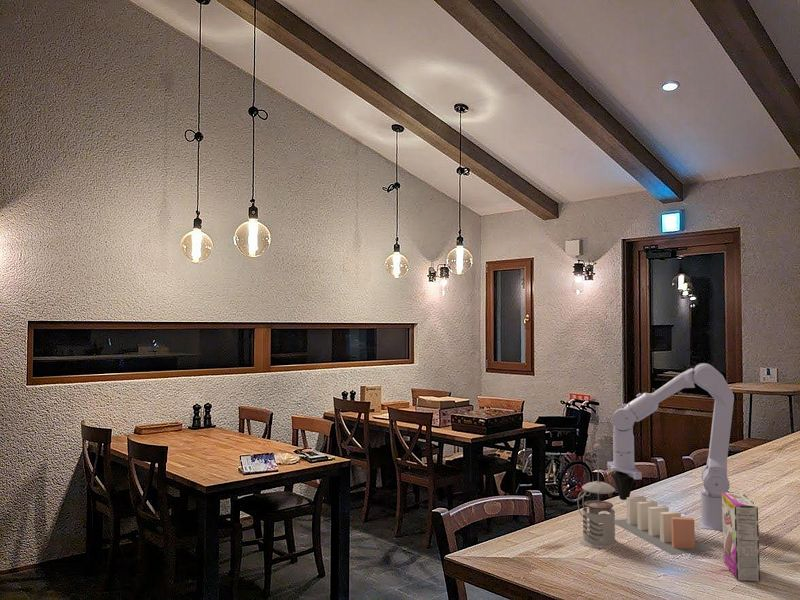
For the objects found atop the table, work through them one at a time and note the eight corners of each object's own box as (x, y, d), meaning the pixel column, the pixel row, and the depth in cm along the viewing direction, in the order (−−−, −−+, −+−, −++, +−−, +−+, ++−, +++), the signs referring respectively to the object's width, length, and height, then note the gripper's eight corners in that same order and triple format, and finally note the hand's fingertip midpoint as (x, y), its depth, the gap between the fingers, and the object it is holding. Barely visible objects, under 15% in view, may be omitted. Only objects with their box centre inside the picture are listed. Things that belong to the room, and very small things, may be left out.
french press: (598, 551, 164) (597, 448, 164) (566, 538, 174) (564, 441, 175) (628, 545, 168) (626, 444, 169) (594, 532, 178) (593, 437, 179)
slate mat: (609, 521, 187) (609, 520, 187) (647, 518, 190) (647, 517, 190) (671, 556, 160) (671, 554, 160) (715, 552, 163) (715, 550, 163)
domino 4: (659, 540, 170) (659, 512, 171) (677, 538, 171) (676, 511, 172) (663, 542, 169) (663, 514, 169) (681, 540, 170) (680, 512, 170)
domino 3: (648, 534, 175) (647, 507, 175) (665, 532, 176) (664, 505, 177) (652, 536, 174) (651, 508, 174) (669, 534, 175) (668, 507, 175)
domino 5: (671, 545, 166) (671, 517, 167) (692, 546, 166) (692, 517, 166) (673, 547, 165) (673, 519, 165) (694, 548, 164) (694, 519, 164)
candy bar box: (721, 562, 156) (720, 491, 156) (745, 564, 155) (743, 492, 155) (735, 581, 145) (734, 504, 145) (761, 583, 144) (759, 505, 144)
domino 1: (627, 522, 185) (626, 497, 185) (643, 521, 186) (642, 496, 186) (630, 524, 183) (629, 498, 184) (646, 523, 185) (646, 497, 185)
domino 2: (637, 528, 180) (637, 502, 180) (653, 526, 181) (653, 500, 181) (640, 530, 179) (640, 503, 179) (657, 528, 180) (657, 502, 180)
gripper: (597, 447, 197) (598, 493, 197) (625, 457, 183) (625, 507, 183) (619, 445, 199) (619, 492, 198) (648, 455, 185) (648, 505, 184)
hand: (624, 499), depth 191 cm, fingers closed
